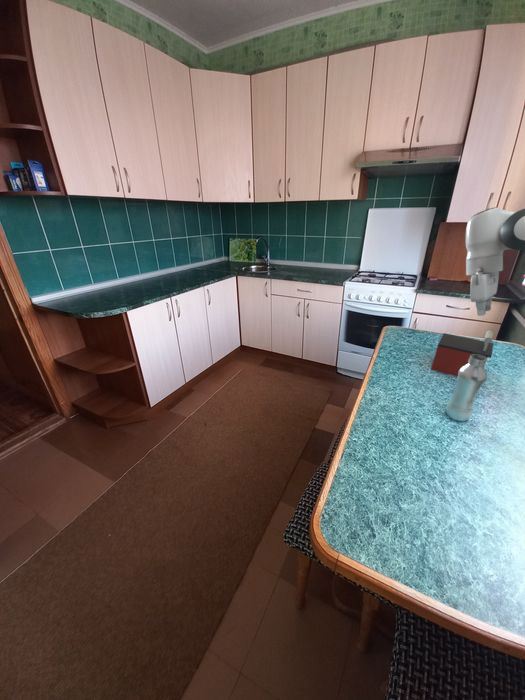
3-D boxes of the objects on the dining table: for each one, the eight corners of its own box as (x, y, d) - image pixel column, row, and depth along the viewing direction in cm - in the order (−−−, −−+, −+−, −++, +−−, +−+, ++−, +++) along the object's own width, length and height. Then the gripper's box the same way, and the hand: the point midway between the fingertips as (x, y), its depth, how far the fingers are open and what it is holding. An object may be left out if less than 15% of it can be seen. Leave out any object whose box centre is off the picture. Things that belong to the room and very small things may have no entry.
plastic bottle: (440, 416, 86) (460, 357, 77) (448, 406, 90) (468, 349, 81) (465, 427, 81) (489, 366, 72) (472, 416, 85) (496, 357, 76)
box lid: (492, 345, 104) (498, 329, 102) (490, 358, 96) (497, 341, 93) (443, 334, 113) (447, 320, 110) (437, 345, 105) (442, 330, 102)
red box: (480, 368, 109) (489, 344, 105) (478, 382, 101) (487, 357, 97) (436, 357, 117) (443, 334, 113) (430, 369, 109) (437, 346, 105)
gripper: (491, 266, 78) (491, 317, 81) (502, 264, 92) (502, 308, 94) (463, 270, 83) (464, 318, 85) (477, 268, 96) (478, 309, 99)
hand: (484, 313), depth 90 cm, fingers open, 8 cm apart
